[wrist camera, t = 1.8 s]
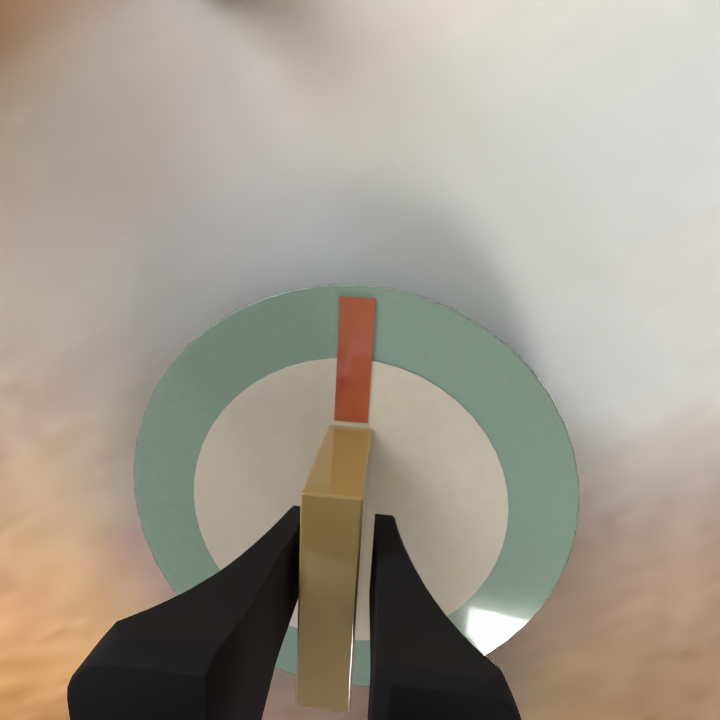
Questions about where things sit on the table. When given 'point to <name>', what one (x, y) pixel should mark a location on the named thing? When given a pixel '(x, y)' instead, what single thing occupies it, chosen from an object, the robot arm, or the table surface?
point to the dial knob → (360, 467)
